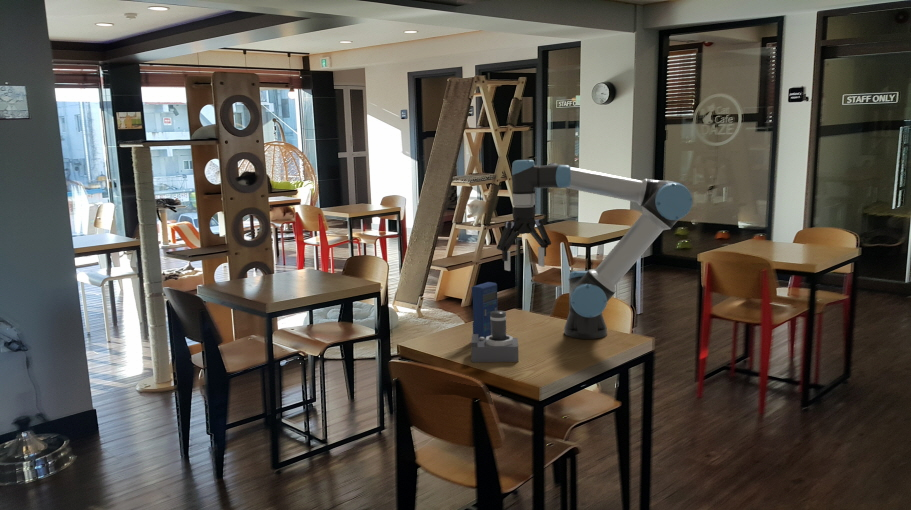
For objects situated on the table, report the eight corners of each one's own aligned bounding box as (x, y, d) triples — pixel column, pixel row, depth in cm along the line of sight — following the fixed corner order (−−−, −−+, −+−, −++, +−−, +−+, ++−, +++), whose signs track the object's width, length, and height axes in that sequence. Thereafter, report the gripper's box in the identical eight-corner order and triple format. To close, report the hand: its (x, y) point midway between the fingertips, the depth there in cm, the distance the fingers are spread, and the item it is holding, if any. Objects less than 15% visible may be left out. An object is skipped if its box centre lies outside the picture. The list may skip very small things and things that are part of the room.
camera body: (517, 352, 236) (517, 333, 235) (518, 361, 226) (518, 342, 225) (472, 352, 237) (472, 334, 236) (471, 362, 227) (471, 342, 226)
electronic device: (483, 343, 247) (482, 287, 244) (472, 341, 251) (470, 286, 247) (499, 337, 255) (498, 283, 251) (488, 335, 258) (486, 281, 255)
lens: (509, 343, 230) (508, 313, 228) (495, 345, 227) (494, 315, 226) (501, 339, 234) (501, 309, 233) (487, 341, 232) (486, 312, 230)
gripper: (548, 203, 247) (549, 262, 250) (485, 207, 236) (487, 270, 239) (560, 204, 240) (561, 265, 244) (497, 209, 229) (498, 273, 233)
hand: (524, 268), depth 241 cm, fingers open, 13 cm apart
